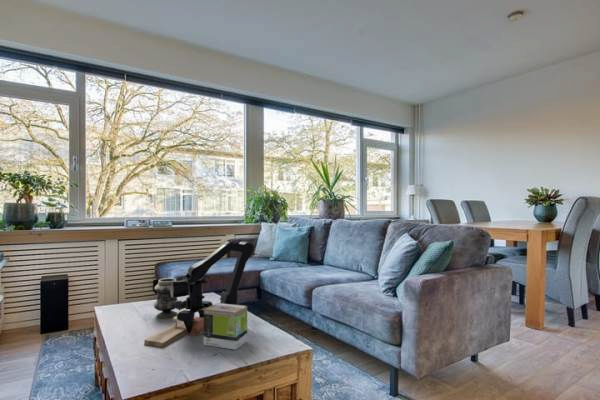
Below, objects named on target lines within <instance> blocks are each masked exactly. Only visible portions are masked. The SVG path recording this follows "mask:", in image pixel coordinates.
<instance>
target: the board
mask: <svg viewBox="0 0 600 400" xmlns="http://www.w3.org/2000/svg"><path fill="white" fill-rule="evenodd" d="M184 335H187V334H186V327H185V324H184V322H181V321H177V326H176V322H175V323H174V324H171V325H170V326H168V327H166V328H164V329H162V330H161V331H159V332H156V333H155V334H153V335H151V336H149V337H147V338H145V339H143V340H144V342H143V343H144V345H145V346H152V347H153V346H154V347H159V348H165V347H166V346H168V345H169V344H171V343H173V342H174V341H176V340H177V339H180V338H181V337H182V336H184Z"/></svg>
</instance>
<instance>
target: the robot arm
mask: <svg viewBox="0 0 600 400" xmlns="http://www.w3.org/2000/svg"><path fill="white" fill-rule="evenodd" d="M254 250H255V247H254V245H253V243H251V242H249V241H244V240H243V241H240V242H233V241H225V242H224V243H223V244H222V245H221V246H219V247H218V248H217V249H216V250H214V251H213V252H212V253H210V254H209V255H208V256H206V257H205V258H203V260H200V261H198V262H196V263H194V264H192V265H190V266H189V267H188V269H187V273H186V274H185V276H184V277H183V278H182V280H176V281H172V284H171V288H170V293H171V297H172V298H174V297H177V298H180V297H181V298H182V297H186V296H187V295H188V296H187V297H186V299H184V300H179V301H177V302H176V304H175V309H176V310H178V311H179V312H177V315H176V317H177V319H178V320H180V321H179V322H181V321H183V322H182V323H184V324H185V327H186V329H187V332H188V334H187V335H191V334H190V333H191V331H192V327H193V323H194V320H195V318H194V317H196V316H195V314H196V313H198V315H199V316H198V317H203V318H204V309H205V308H207V307H209V306H212V305H214V304H213V302H212V301H208V300H204V299H205V295H204V293H203V292H204V291H203V285H205V284H208V280H205V278H204V277H205V276H206V274H207V273H208V271H209V270H210V268H211V267H212V266H213V265H215V264H216V263H217V262H219V261H220V260H222V258H223V257H225V256H227V254H229V253H230V252H231V251H233V252H236V262H235V265H234V267H233V269H232V273H231V274H232V275H231V277H230V279H229V284H228V287H227V289H226V290H225V291H223V290H222V292H221V295H220V298H219V300H220V301H219V303H223V304H233V305H238V301H239V300H238V298H239V297H238V296H239V295H238V291H239V288H240V284H241V281H242V277H243V274H244V270H245V267H246V264H247V262H248V261H249V260H250V258H251V256H252V254H253V252H254Z"/></svg>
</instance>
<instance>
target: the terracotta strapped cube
mask: <svg viewBox="0 0 600 400" xmlns="http://www.w3.org/2000/svg"><path fill="white" fill-rule="evenodd" d="M194 318H195V320H194V323H193V327H192V331H191V333H190V334H188V332H187V329H186V334H185V335H194V336H199V335H201V334H202V333H204V318H203V317H199V316H194ZM172 321H174V322H175V323H176V326H177V322H180V323H184V322H183V321H180V320H178V319H177V316H174V317H172Z"/></svg>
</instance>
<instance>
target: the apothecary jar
mask: <svg viewBox="0 0 600 400" xmlns="http://www.w3.org/2000/svg"><path fill="white" fill-rule="evenodd" d="M172 281H177V279H176V278H174V277H166V278H165V277H164V278H160V279H159V280H158V283H157V284H156V285H155V286H154V291H155V292H156V301H155V302H154V303H153V307H154V309H155V310H157V311H160V312H159V313H157V314H156V315H155V316H156V318H158V319H169V318H170V319H171V318H174V317H177V314H178V312H176V311H174V310H175V309H176V308H175V304H176V302H177V301H180V300H179V299H178V297H174V298H172V297H171V293H170V288H171V284H172Z"/></svg>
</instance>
